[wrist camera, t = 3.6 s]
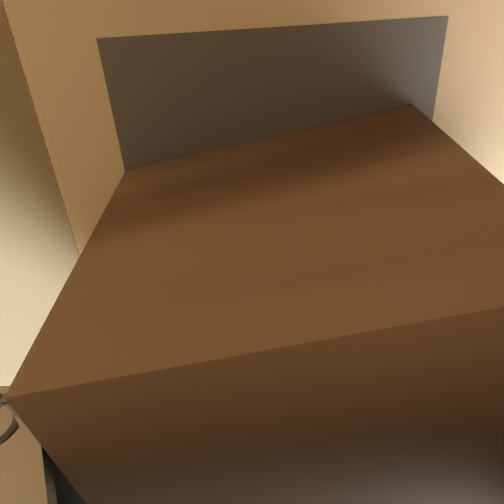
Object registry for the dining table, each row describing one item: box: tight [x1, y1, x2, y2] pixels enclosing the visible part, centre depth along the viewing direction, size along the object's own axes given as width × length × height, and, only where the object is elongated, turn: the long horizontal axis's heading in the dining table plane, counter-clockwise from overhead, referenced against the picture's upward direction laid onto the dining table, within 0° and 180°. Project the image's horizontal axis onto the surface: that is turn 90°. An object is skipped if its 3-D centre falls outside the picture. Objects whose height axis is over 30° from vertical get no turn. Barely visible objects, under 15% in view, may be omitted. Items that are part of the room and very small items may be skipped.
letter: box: [2, 0, 504, 255], centre depth 11 cm, size 14×10×1 cm
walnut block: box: [4, 104, 504, 504], centre depth 9 cm, size 6×6×6 cm
